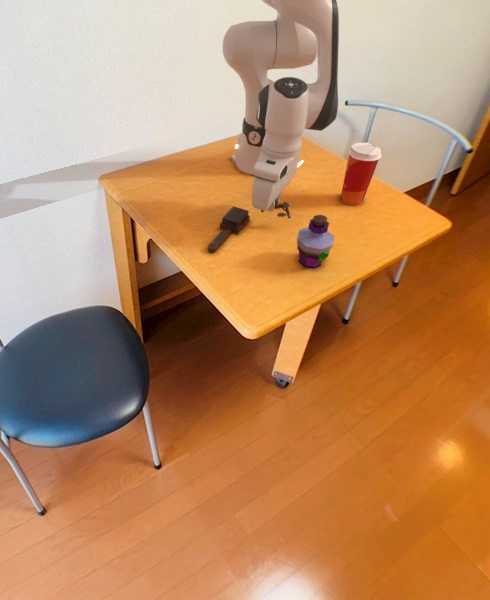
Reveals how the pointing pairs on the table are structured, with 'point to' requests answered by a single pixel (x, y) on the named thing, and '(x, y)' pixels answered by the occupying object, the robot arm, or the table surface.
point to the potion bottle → (314, 242)
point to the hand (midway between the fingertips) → (272, 207)
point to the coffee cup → (359, 172)
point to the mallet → (230, 227)
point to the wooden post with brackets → (284, 205)
